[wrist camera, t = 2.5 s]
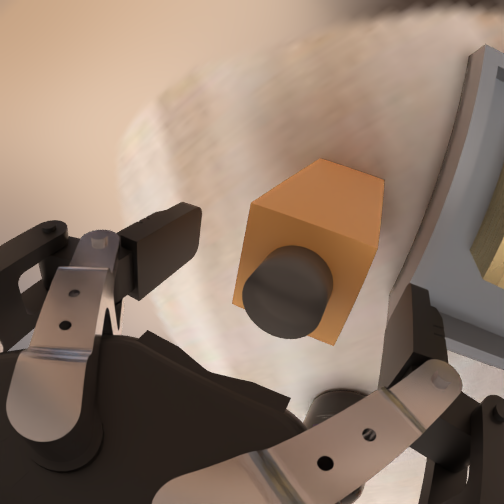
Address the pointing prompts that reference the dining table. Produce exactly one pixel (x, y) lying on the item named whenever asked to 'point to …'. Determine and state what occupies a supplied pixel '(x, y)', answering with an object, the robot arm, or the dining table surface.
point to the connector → (309, 251)
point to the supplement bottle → (328, 408)
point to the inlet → (491, 239)
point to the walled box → (464, 220)
